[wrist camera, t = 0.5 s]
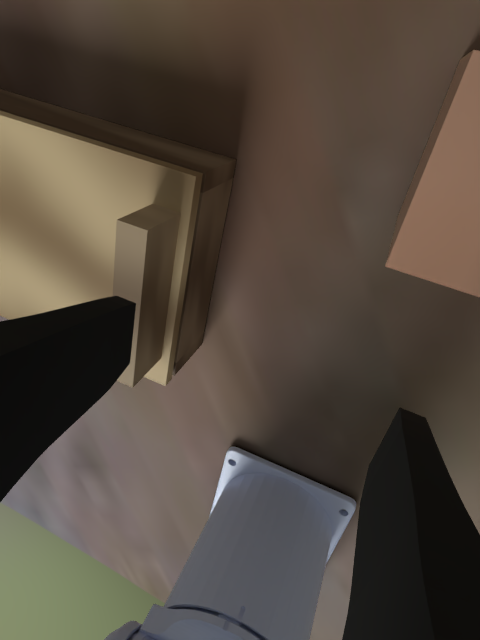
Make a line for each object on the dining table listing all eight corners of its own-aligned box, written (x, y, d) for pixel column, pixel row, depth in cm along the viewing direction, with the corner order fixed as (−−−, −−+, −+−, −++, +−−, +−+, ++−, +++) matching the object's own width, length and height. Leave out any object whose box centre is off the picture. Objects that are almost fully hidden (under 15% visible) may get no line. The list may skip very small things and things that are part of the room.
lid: (171, 379, 22) (138, 417, 19) (-54, 284, 25) (-108, 306, 22) (202, 173, 17) (162, 189, 14) (-88, 83, 20) (-163, 83, 17)
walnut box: (201, 344, 25) (174, 375, 22) (-4, 262, 28) (-50, 281, 25) (236, 159, 20) (206, 172, 17) (-21, 82, 22) (-81, 83, 20)
